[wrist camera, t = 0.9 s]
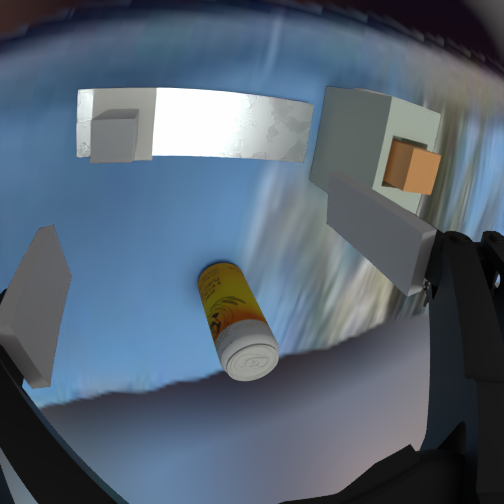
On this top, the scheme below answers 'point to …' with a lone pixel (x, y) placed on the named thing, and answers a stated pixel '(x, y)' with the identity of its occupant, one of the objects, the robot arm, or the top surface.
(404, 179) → the button
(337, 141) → the white block
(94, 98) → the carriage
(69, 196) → the top surface
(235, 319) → the beer can
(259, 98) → the rail
